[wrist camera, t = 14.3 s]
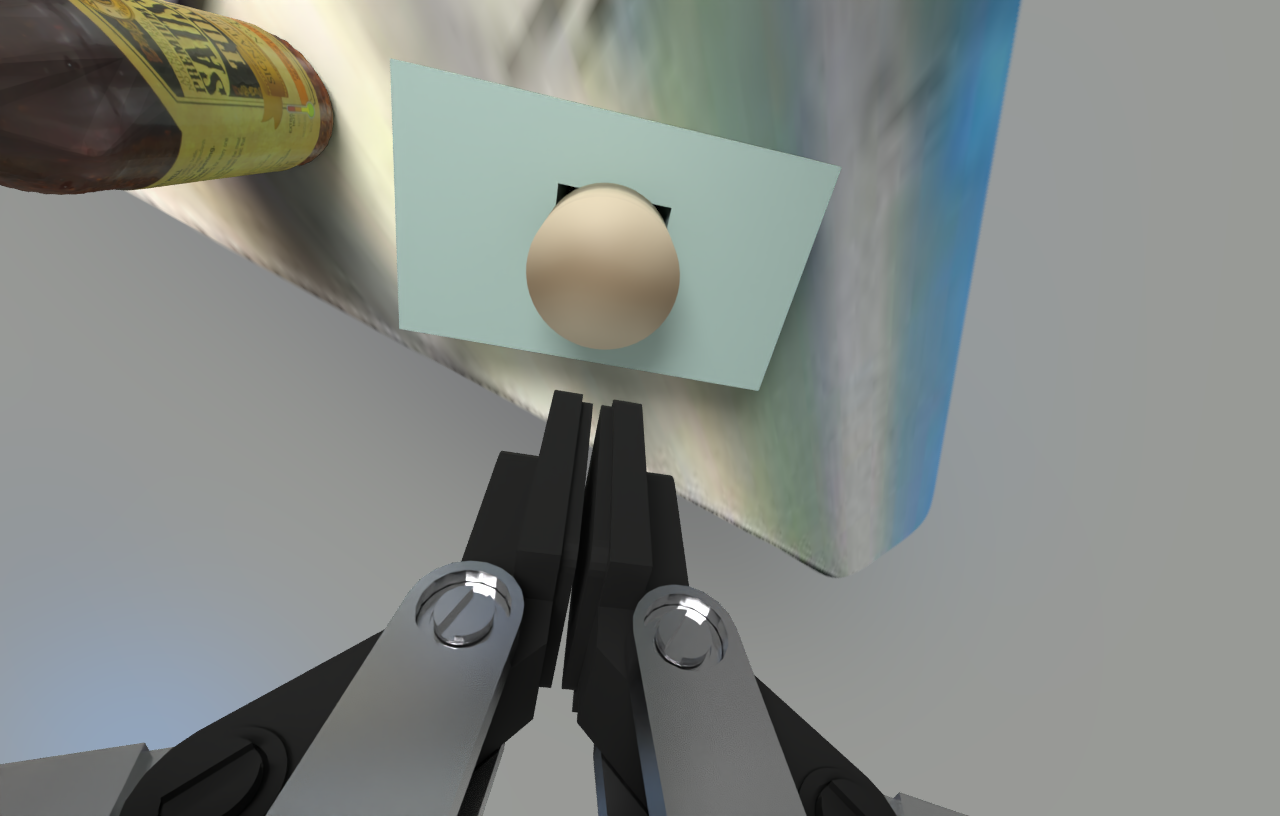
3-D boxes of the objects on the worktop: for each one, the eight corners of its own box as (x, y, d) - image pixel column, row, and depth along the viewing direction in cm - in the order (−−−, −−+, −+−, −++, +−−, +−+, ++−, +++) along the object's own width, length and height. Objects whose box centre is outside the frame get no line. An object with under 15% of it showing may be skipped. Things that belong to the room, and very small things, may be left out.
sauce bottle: (357, 84, 26) (-170, 32, 9) (317, 191, 28) (-153, 319, 11) (218, -14, 23) (-851, -342, 6) (188, 112, 26) (-643, 116, 9)
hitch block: (433, 68, 25) (390, 58, 21) (804, 157, 28) (841, 167, 23) (433, 295, 31) (399, 328, 26) (739, 351, 34) (758, 390, 29)
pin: (560, 159, 27) (534, 180, 19) (674, 185, 28) (697, 216, 20) (546, 274, 30) (519, 335, 22) (650, 295, 31) (660, 360, 23)
